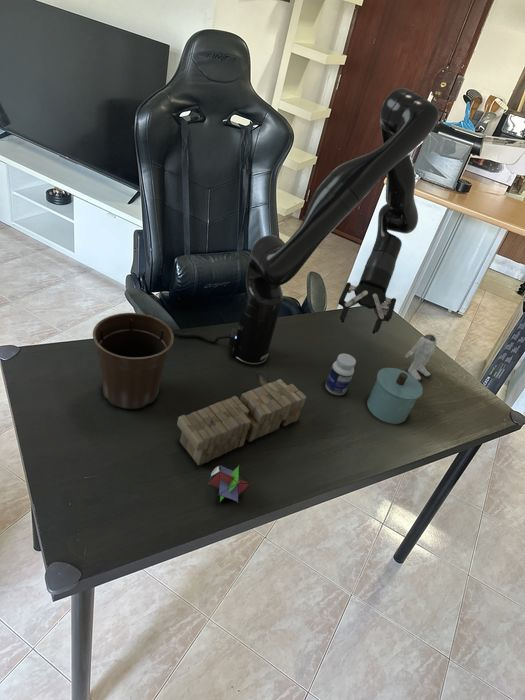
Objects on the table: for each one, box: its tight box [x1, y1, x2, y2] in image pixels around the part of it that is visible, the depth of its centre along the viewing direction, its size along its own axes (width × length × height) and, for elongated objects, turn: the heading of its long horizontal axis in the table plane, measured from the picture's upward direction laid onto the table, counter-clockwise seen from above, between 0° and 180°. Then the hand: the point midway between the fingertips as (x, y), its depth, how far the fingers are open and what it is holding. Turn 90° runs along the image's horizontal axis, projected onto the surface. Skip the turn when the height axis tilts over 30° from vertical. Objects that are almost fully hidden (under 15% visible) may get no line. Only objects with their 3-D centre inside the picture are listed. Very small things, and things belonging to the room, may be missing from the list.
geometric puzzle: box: [207, 464, 251, 503], centre depth 91 cm, size 7×7×8 cm
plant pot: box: [92, 312, 175, 410], centre depth 105 cm, size 16×16×16 cm
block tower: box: [176, 378, 307, 466], centre depth 105 cm, size 8×8×29 cm
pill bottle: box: [324, 353, 357, 396], centre depth 124 cm, size 6×6×10 cm
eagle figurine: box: [255, 370, 271, 386], centre depth 115 cm, size 8×7×9 cm
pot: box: [366, 367, 424, 425], centre depth 121 cm, size 12×12×12 cm
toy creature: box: [405, 334, 437, 381], centre depth 138 cm, size 12×6×12 cm, turn 126°
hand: (358, 327), depth 127 cm, fingers open, 8 cm apart
